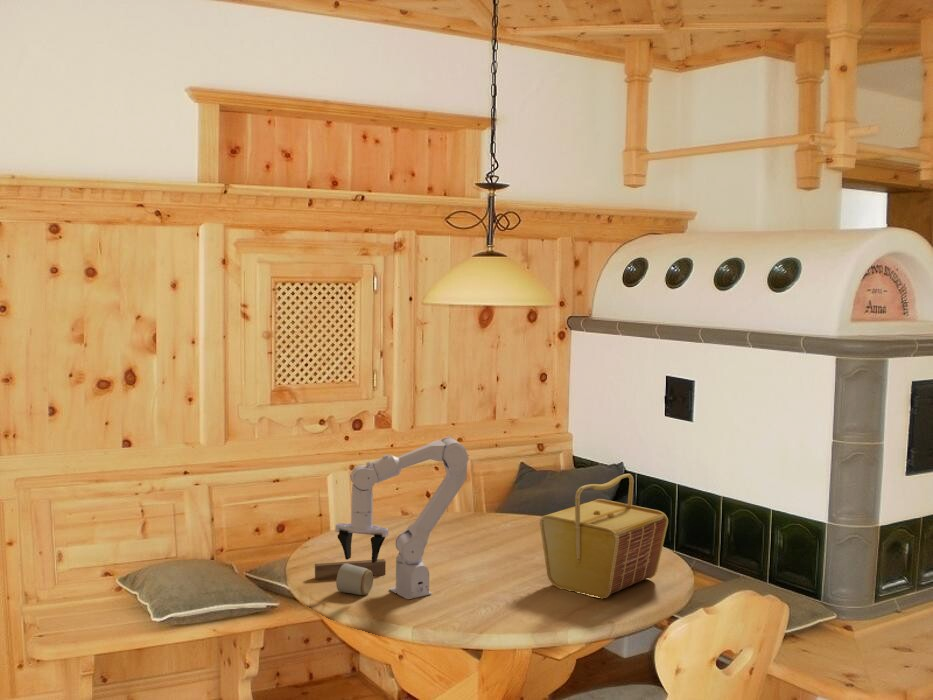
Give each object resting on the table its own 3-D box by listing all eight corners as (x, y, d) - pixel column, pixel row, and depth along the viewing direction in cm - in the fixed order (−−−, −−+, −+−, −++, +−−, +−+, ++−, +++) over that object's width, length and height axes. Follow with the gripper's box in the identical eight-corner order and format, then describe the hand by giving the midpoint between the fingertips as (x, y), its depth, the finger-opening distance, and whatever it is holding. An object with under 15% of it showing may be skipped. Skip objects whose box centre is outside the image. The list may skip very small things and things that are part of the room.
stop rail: (385, 574, 288) (385, 561, 288) (315, 579, 283) (315, 565, 282) (383, 572, 290) (384, 559, 290) (314, 577, 285) (314, 563, 284)
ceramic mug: (362, 599, 267) (363, 571, 267) (335, 595, 270) (335, 567, 270) (379, 588, 277) (380, 561, 277) (353, 584, 280) (353, 557, 280)
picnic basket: (592, 562, 304) (596, 465, 302) (668, 581, 288) (672, 478, 285) (535, 585, 282) (537, 480, 280) (613, 607, 266) (617, 496, 263)
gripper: (392, 509, 271) (391, 558, 272) (343, 504, 275) (342, 553, 276) (383, 515, 264) (382, 566, 265) (332, 510, 268) (331, 560, 269)
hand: (361, 560), depth 270 cm, fingers open, 7 cm apart
